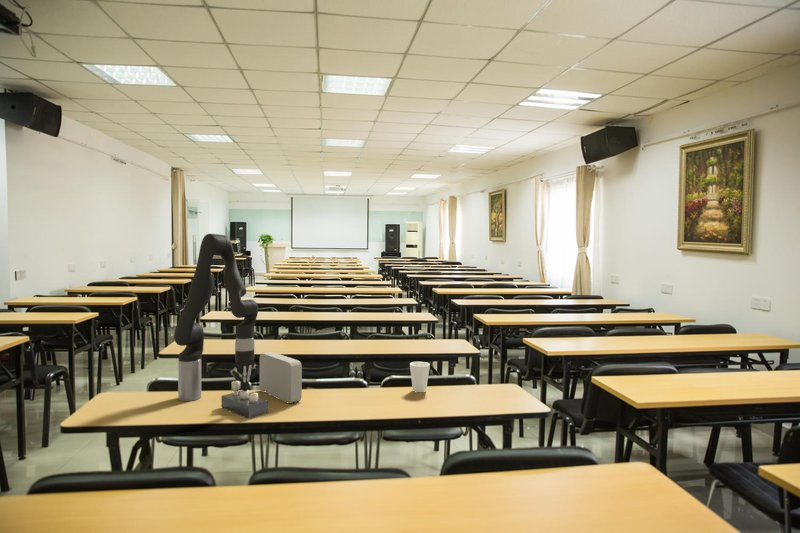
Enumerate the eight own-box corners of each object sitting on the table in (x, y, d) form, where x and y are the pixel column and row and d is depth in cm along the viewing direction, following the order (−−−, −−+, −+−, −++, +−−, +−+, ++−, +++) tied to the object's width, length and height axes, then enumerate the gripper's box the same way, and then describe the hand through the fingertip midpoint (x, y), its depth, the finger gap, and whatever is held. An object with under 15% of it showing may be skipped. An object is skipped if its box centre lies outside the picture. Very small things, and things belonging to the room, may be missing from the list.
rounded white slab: (306, 401, 203) (306, 360, 203) (290, 405, 198) (291, 363, 197) (274, 387, 224) (274, 350, 223) (259, 390, 218) (259, 352, 218)
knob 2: (238, 409, 190) (238, 390, 190) (245, 406, 193) (245, 388, 193) (243, 410, 188) (243, 392, 188) (250, 408, 191) (250, 390, 190)
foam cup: (410, 387, 226) (411, 361, 225) (429, 388, 225) (430, 361, 224) (409, 393, 216) (409, 365, 216) (428, 394, 215) (429, 366, 215)
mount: (221, 407, 193) (221, 395, 193) (240, 402, 200) (240, 390, 200) (248, 418, 181) (248, 406, 181) (268, 412, 188) (268, 400, 188)
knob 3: (247, 412, 186) (247, 393, 186) (254, 410, 189) (254, 391, 189) (252, 414, 184) (252, 395, 184) (259, 412, 187) (259, 393, 186)
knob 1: (230, 399, 194) (230, 381, 194) (237, 397, 197) (237, 380, 197) (234, 401, 192) (234, 383, 192) (241, 399, 195) (241, 381, 195)
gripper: (253, 345, 197) (253, 385, 198) (225, 349, 187) (225, 392, 188) (264, 347, 193) (264, 388, 193) (235, 352, 182) (235, 396, 183)
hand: (244, 390), depth 190 cm, fingers closed
